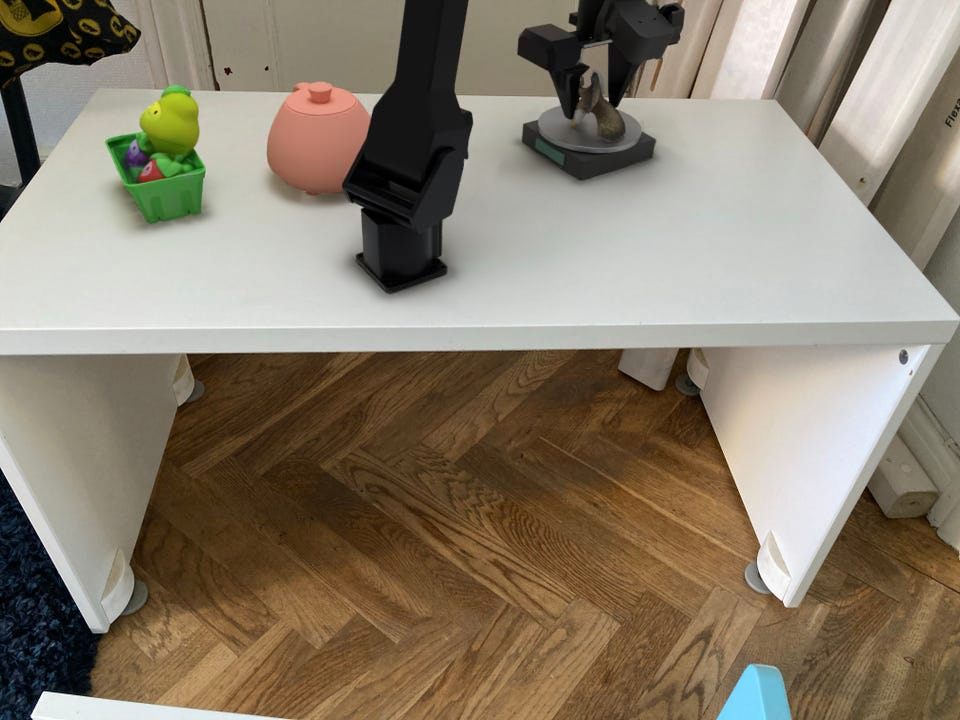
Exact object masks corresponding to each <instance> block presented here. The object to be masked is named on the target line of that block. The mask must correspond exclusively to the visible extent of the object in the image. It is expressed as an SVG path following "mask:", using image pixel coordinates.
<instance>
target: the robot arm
mask: <svg viewBox="0 0 960 720" xmlns="http://www.w3.org/2000/svg"><path fill="white" fill-rule="evenodd" d="M469 1H470V0H404V5H403V15H402V21H401V30H400V36H399V45H398V52H397V53H398V54H397V61H396V69H395V75H394V79H393V81H392V82H391V84H390V85H389V86H388V88H387V89H386V90H385V92H384V93H383V94H382V96H381V97H380V98H379V99H378V101H377V102H376V103H375V105H374V106H373V108H372V111H371V114H370V116H371V119H370V124H369V128H368V132H367V136H366V139H365V141H364V143H363V145H362V147H361V149H360V151H359V152H358V154H357V156H356V158H355V160H354V162H353V164H352V166H351V168H350V170H349V172H348V173H347V175H346V177H345V179H344V181H343V183H342V189H343V193H344V195H345V198H346V200H347V202H348V203H351V204H356V205H358V206H360V207H362V208H360V219H361V220H360V222H361V235H362V236H361V238H362V251H361V252H358V253H356V254H355V261H356V262H357V263H358V264H359V266H361V267H362V268H363V270H365V272H367V273H368V274H369V276H370V277H372V279H374V281H376V283H377V284H379V286H381V288H382V289H384V291H386V292H388V293H392V292H396V291H399V290H401V289H404V288H407V287H409V286H414V285H416V284H418V283H421V282H424V281H427V280H430V279H433V278H437V277H439V276H442V275H445V274H447V273H448V265H447V264H446V263H444V261H443V260H441V259H440V258H441V257H442V255H443V221H444V220H445V219H447V218H449V217H451V216H452V215H453V213H454V209H455V205H456V201H457V197H458V193H459V189H460V185H461V181H462V177H463V173H464V167H465V161H467V160H468V159H469V142H470V138H471V133H472V131H473V127H474V116H473V112H472V111H470V110H467V109H465V108H462V107H461V106H460V103H459V101H458V100H459V99H458V97H457V94H456V81H457V74H458V69H459V62H460V56H461V51H462V50H461V49H462V46H463V45H462V44H463V38H464V32H465V27H466V26H465V25H466V21H467V15H468V14H467V13H468V8H469V7H468V6H469ZM685 14H686V9H685V8H684V7H683V6H682V5H681V3H679V2H672V3H667V4H663V6H661V7H660V5H659V4H658V3H657V4H650V3H649V2H648V1H647V0H578V4H577V11H574V12H570V13H569V14H568V24H570V25H572V26H574V27H575V30H573V31H568V30H565V29H563V28H561V27H559V26H557V25H555V24H554V23H546V24H541V25H534V26H530V27H525V28H524V29H523V30H522V31H520V33H519V34H518V39H517V49H516V52H517V53H516V55H517V56H519V57H521V58H523V59H524V60H526V61H528V62H530V63H532V64H533V65H535V66H536V67H540V68H541V69H543V70H545V72H546V71H547V72H548V75H549V77H550V78H551V82H552V83H553V86H554V89H555V92H556V95H557V98H558V102H559V105H560V106H561V107H562V110H563V113H564V116H565V117H566V118H567V119H569V120H572V119H573V117H574V114H575V110H576V105H577V98H578V91H579V85H580V81H581V76H583V75H585V73H587V72H588V70H589V69H590V68H591V66H590V65H588V64H586V63H584V62H583V54H584V51H585V49H591V48H595V47H600V46H604V45H607V96H608V102H609V103H611V104H612V105H613V106H614V107H615V108H616V109H617V108H618V107H619V105H620V103H622V100H623V98H624V96H625V94H626V92H627V90H628V88H629V86H630V84H631V83H632V81H633V79H634V77H635V75H636V73H637V72H638V70H639V69H640V67H641V65H642V64H643V63H644V62H645V61H649V60H660V59H662V58H663V56H664V54H665V52H666V50H667V48H668V46H669V47H670V46H672V45H678V44H679V42H680V41H681V34H682V31H683V29H684V24H685Z"/></svg>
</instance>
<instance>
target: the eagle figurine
mask: <svg viewBox="0 0 960 720" xmlns="http://www.w3.org/2000/svg"><path fill="white" fill-rule="evenodd" d="M584 85H585V77H584V76H583V75H582V76H581V78H580V85H579V91H578V98H577V105H576V114H575V117H574V121H573V124H572V125H571V126H572V127H574V126H575V125H576V124H579V123H580V122H581V121H582V119H583V117H584V116H585V114H587V113H588V114H589V113H590V112H591V113H593V114H594V115H595V117H596V121H597V124H598V126H597V135H598V138H601V139H602V140H603V141H608V142H617V140H620V139H621V136H622V137H623V136H624V134H625V131H626V130H625V128H626V127H625V123H624V121H623V118H622V116H621V115H620V113H619V112H618V111H617V110H618V109H617V108H615V107H614V106H613V105H612V104H611V103H609V100H607V99H606V98H604V96H603V95H604V94H606V92H607V91H606V90H607V88H606V83H605V78H604V74H603V73H602V72H601V71H600V70H599V69H596V68H594V69H593V70H592V73H591V76H590V85H589V86H587V87H584Z"/></svg>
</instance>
